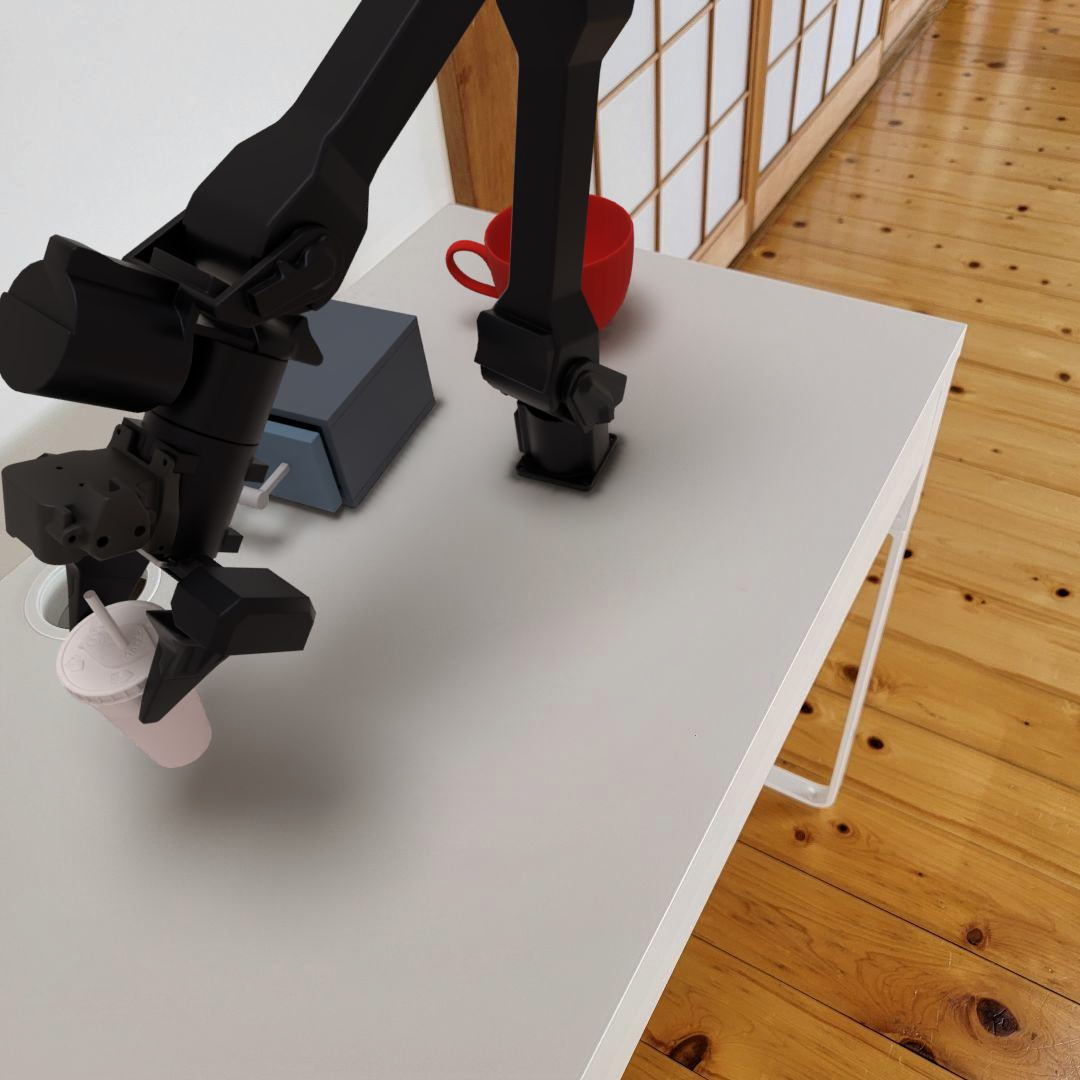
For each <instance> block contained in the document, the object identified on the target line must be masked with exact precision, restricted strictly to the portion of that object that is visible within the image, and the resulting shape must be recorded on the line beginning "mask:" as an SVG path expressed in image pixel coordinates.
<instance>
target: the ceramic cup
mask: <svg viewBox="0 0 1080 1080" xmlns="http://www.w3.org/2000/svg"><path fill="white" fill-rule="evenodd" d="M511 224H512V204H511V205H510V206H508V207H506V208H504V209H503V210H501V211H500V212H498V213H497V214H496V215H495V216H494V217H493V218H492V219H491V221H490V222H489V223H488V225H487V227H486V229H485V231H484V236H483V243H484V244H483V243H480V242H479V241H474V240H471V239H459V240H457V241H454V242H453V243H451V244H450V245H449V247H448V248H447V249H446V254H445V258H444V260H445V265H446V268H447V271H448V272H449V274H450V275H451V277H452V278H453V279H454V280H455V281H456V282H457V283H458V284H460V285H461V286H462V287H464V288H466V289H467V290H470V291H472V292H474V293H477V294H480V295H483V296H486V297H489V298H493V299H496V300H498V299H499V297H500V296H501V295H502V293H503V292H504V290H505V289H506V288H507V286H508V282H509V269H510V247H511ZM634 229H635V226H634V222H633V219H632V217H631V214H630V213H629V212H628V211H627V210H626V209H625V208H624V207H623V206H622V205H620V204H619V203H617V202H616V201H614V200H612V199H609V198H606V197H604V196H601V195H596V194H592V193H589V203H588V214H587V225H586V237H585V248H584V259H583V270H582V281H581V288H582V292H583V294H584V296H585V299H586V301H587V303H588V305H589V308H590V310H591V312H592V314H593V317H594V319H595V321H596V324H597V326H598V328H599V334H600V333H601V332H602V331H603V329H605V328H606V327H607V326H608V325H609V324H610V323H611V321H612V320H613V319H614V318H615V316H616V315H617V313H618V312H619V310H620V309H621V307H622V305H623V304H624V301H625V298H626V295H627V292H628V290H629V287H630V283H631V278H632V274H633V266H634V254H635V230H634ZM459 252H469V253H473V254H475V255H477V256H478V257H480V258H481V260H483V261H484V263H485V264H486V266H487V268H488V270H489V271H490V274H491V275H490V276H491V278H492V282H493V285H491V284H487V283H486V282H485V283H484V282H482V281H480V280H476V279H474V278H472V277H470V276H469V275H467V274H466V273H465V272H463V271H462V269H460V267H459V266H458V265H457V263H456V261H455V258H454V255H455V254H456V253H459Z"/></svg>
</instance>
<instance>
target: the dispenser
mask: <svg viewBox="0 0 1080 1080" xmlns="http://www.w3.org/2000/svg"><path fill="white" fill-rule="evenodd" d="M302 315H304V316H306V317H307V319H308V325H309V329H310V332H311V334H312V337H313V338H314V340H315V342H316V343H317V345H318V347H319V349H320V351H321V353H322V355H323V362H322V364H321V365H320V366H311V365H308V364H304V363H300V362H297V361H293V360H289V361H288V364H287V367H286V369H285V372H284V375H283V378H282V381H281V383H280V386H279V389H278V392H277V395H276V397H275V400H274V403H273V406H272V409H271V411H270V414H272V415H276V416H280V417H284V418H288V419H293V420H297V421H301V422H305V423H309V424H313V425H317V426H321V428H322V431H323V434H324V437H325V440H326V443H327V446H328V449H329V452H330V455H331V458H332V461H333V464H334V467H335V470H336V473H337V476H338V479H339V482H340V485H341V486H339V485H337V488H338V491H339V494H340V497H341V500H342V504H341V505H343V506H346V507H350V508H354V509H356V508H357V507H358V506H359V504H360V503H361V502H362V501H363V499H364V497H365V496H366V495H367V494H368V492H369V491H370V490H371V488H372V487H373V486H374V485H375V484H376V482H377V480H378V479H380V477H381V475H382V474H383V473H384V471H385V470H386V469H387V468H388V466H389V465H390V464H391V462H392V461H393V460H394V458H395V457H396V455H397V454H398V453H399V452H400V450H401V449H402V448H403V446H404V445H405V444H406V442H407V441H408V440H409V439H410V438H411V436H412V435H413V433H415V431H416V429H417V428H418V427H419V426H420V425H421V423H422V422H423V421H424V419H425V418H426V416H427V415H428V414H429V413H430V411H431V410H432V409H433V407H434V406H435V405H436V397H435V394H434V389H433V385H432V381H431V376H430V371H429V367H428V366H429V365H428V362H427V357H426V352H425V348H424V344H423V338H422V335H421V330H420V325H419V319H418V316H417V315H415V314H409V313H406V312H405V313H404V312H400V311H399V312H398V311H394V310H390V309H389V310H388V309H383V308H379V307H373V306H369V305H363V304H359V303H352V302H349V301H348V302H347V301H341V300H338V299H337V300H336V299H333V298H331V300H330V301H329V302H328V303H327V304H326V305H325V306H324V307H322V308H321V309H320V310H318V311H313V310H311V311H309V312H305V313H302Z"/></svg>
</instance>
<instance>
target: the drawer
mask: <svg viewBox="0 0 1080 1080" xmlns="http://www.w3.org/2000/svg"><path fill="white" fill-rule="evenodd" d="M254 457H256V458H257V459H259V460H261V461H262V462H264V463H265V464H267V465H269V468H268V471H267V474H266V477H265V479H264V482H263V483H256V482H248V481H246V482H245V484H244V487H243V490H242V493H241V496H240V498H239V501H238V504H239V505H241V506H245V507H249V508H252V509H255V510H259V511H262V510H263V511H264V510H265V509H266V508H267V507H268V505H269V501H270V496H272V497H273V496H274V497H277V498H281V499H284V500H288V501H291V502H295V503H297V504H298V503H299V504H303V505H306V506H310V507H313V508H317V509H320V510H324V511H326V512H327V511H328V512H331V513H336V512H337V511H338V509H339V508H340V507H341V505H342V500H341V497H340V494H339V491H338V488H337V485H339V486H341V485H340V482H339V479H338V476H337V473H336V470H335V467H334V464H333V461H332V458H331V455H330V452H329V449H328V446H327V443H326V440H325V437H324V434H323V431H322V428H321V426H317V425H313V424H309V423H305V422H301V421H297V420H293V419H288V418H284V417H280V416H276V415H272V414H269V417H268V420H267V423H266V425H265V428H264V431H263V434H262V437H261V439H260V442H259V445H258V448H257V451H256V454H255V456H254ZM238 504H237V505H238Z"/></svg>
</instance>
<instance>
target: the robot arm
mask: <svg viewBox="0 0 1080 1080" xmlns="http://www.w3.org/2000/svg"><path fill="white" fill-rule="evenodd" d="M486 1H487V0H360V2H359V4H358V5H357V6H356V8H355V9H354V11H353V13H352V14H351V15H350V17H349V18H348V20H347V22H346V23H345V25H344V26H343V27H342V29H341V30H340V32H339V34H338V36H337V37H336V38H335V40H334V41H333V43H332V45H331V46H330V47H329V49H328V51H327V52H326V54H325V56H324V57H323V58H322V60H321V62H320V63H319V64H318V65H317V67H316V69H315V71H314V72H313V73H312V75H311V76H310V78H309V80H308V81H307V83H306V85H305V86H304V87H303V89H302V90H301V92H300V93H299V95H298V96H297V98H296V99H295V101H294V103H293V104H292V105H291V106H290V107H289V108H288V109H287V110H286V111H285V112H284V113H283V115H282V116H280V118H279V119H278V120H277V121H275V122H274V123H271V124H270V125H267V127H265V128H263V129H261V130H259V131H258V132H256V133H254V134H253V135H250V136H248V137H247V138H245V139H244V140H242V141H240V142H238V143H236V145H235V146H234V147H232V149H231V150H230V151H229V152H228V154H226V155H225V156H224V157H223V158H222V160H221V161H220V162H219V163H218V164H217V165H216V167H214V168H213V169H212V170H211V172H209V173H208V175H207V176H206V177H205V178H204V179H203V180H202V182H200V184H199V185H198V186H197V187H196V188H195V190H194V191H193V192H192V194H191V196H190V198H189V201H188V202H187V204H186V207H185V208H184V209H183V210H182V211H180V212H179V213H178V214H177V215H176V216H174V217H173V218H171V219H170V220H168V221H167V222H166V223H165V224H163V225H162V226H161V227H160V228H158V229H157V230H156V231H154V232H153V233H152V234H151V235H149V236H147V238H146V239H144V240H142V241H141V242H140V243H139V244H137V245H136V246H135V247H134V248H132V249H131V250H130V251H129V252H127V253H126V254H125V255H123V256H122V257H121V259H120V258H116V257H113V256H110V255H106V254H104V253H101V252H100V251H98V250H95V249H94V248H92V247H90V246H88V245H86V244H84V243H82V242H80V241H78V240H75V239H72V238H69V237H66V236H63V235H60V234H57V233H56V234H55V233H54V234H53V235H51V236H50V237H49V239H48V242H47V245H46V248H45V251H44V254H43V258H42V259H39V260H37V261H34V262H31V263H29V264H28V265H27V266H26V267H24V268H23V269H22V270H21V271H20V272H19V273H18V274H17V276H16V277H15V278H14V279H13V281H12V283H11V285H10V286H9V289H8V290H7V291H2V293H1V294H0V377H1V379H2V380H3V381H4V382H5V384H6V385H7V386H8V388H10V389H11V390H13V391H14V392H17V393H21V394H26V395H30V396H35V397H36V396H37V397H43V398H48V399H54V400H59V401H60V400H61V401H66V402H71V403H77V404H82V405H88V406H95V407H98V408H99V407H100V408H105V409H112V410H115V411H116V410H117V411H122V412H128V413H133V414H134V413H135V414H142V413H144V414H143V417H142V419H138V418H133V417H127V416H123V417H122V420H121V423H118V424H117V425H115V427H114V429H113V432H112V435H111V438H110V440H109V442H108V444H107V446H106V447H104V448H97V449H96V448H95V449H78V450H76V449H75V450H72V451H67V452H62V453H51V452H43V453H41V454H40V455H39V456H37V457H36V458H33V459H28V460H23V461H18V462H15V463H11V464H7V465H6V466H4V467H3V468H2V470H1V471H0V473H1V474H0V475H1V489H2V498H3V499H2V500H3V512H4V524H5V532H6V534H8V535H9V536H10V537H11V538H13V539H15V538H16V539H18V541H20V542H21V543H22V544H23V545H25V547H26V548H28V549H29V550H30V551H32V554H33V556H34V557H35V558H36V559H37V560H38V561H40V562H41V563H43V564H46V565H49V566H65V575H66V584H67V585H66V586H67V599H68V601H67V605H68V631H69V632H68V634H69V633H70V632H71V631H72V629H73V628H74V627H75V626H76V625H77V624H78V623H80V622H81V621H82V620H83V619H85V618H86V617H87V616H89V615H91V614H92V613H94V611H93V610H92V608H91V607H90V605H89V604H88V603H87V601H86V600H85V598H84V594H85V593H86V592H87V591H90V590H92V591H94V592H95V593H96V595H97V596H98V598H99V599H100V601H101V602H102V604H103V605H104V607H106V606H108V605H112V604H115V603H118V602H123V601H129V600H130V598H131V596H132V594H133V592H134V590H135V589H136V587H137V585H138V584H139V582H140V580H141V578H142V577H143V575H144V573H145V571H146V570H147V568H148V566H149V564H150V563H152V564H153V565H155V566H156V567H157V568H159V569H161V570H162V571H163V572H164V573H165V574H166V575H168V576H169V577H170V578H172V579H173V580H175V581H176V582H177V583H176V586H175V589H174V591H173V595H172V597H171V599H170V608H171V609H165V610H146V615H147V617H148V619H149V620H150V622H151V624H152V626H153V627H154V629H155V631H156V632H157V634H158V643H157V646H156V650H155V653H154V657H153V660H152V664H151V667H150V671H149V674H148V678H147V681H146V685H145V688H144V692H143V696H142V700H141V706H140V712H139V721H140V722H141V723H143V724H150V723H156V722H158V721H160V720H161V719H162V718H163V717H164V716H165V715H166V714H167V713H168V712H169V711H170V710H171V709H172V708H174V707H175V706H176V705H177V704H178V703H179V702H180V701H181V700H182V699H183V698H184V697H185V696H186V695H187V694H188V693H189V692H190V691H191V690H192V689H193V688H194V687H197V686H198V685H199V684H200V683H201V682H202V681H203V680H204V679H205V678H206V677H207V676H208V675H210V673H211V672H213V670H215V669H216V668H217V667H218V666H220V665H221V664H222V662H224V661H225V660H227V659H228V658H230V657H231V656H247V655H258V654H261V655H262V654H274V653H289V652H301V651H304V649H305V647H306V644H307V642H308V639H309V637H310V635H311V632H312V630H313V627H314V624H315V620H316V616H317V612H316V609H315V607H314V605H313V602H312V600H311V597H310V596H308V595H307V594H306V593H305V592H303V591H301V590H300V589H298V588H297V587H296V586H294V585H292V584H291V583H290V582H288V581H287V580H285V579H284V578H282V577H281V576H280V575H278V574H277V573H276V572H274V571H273V570H271V569H270V568H268V567H240V566H237V567H236V566H223V565H222V564H220V563H219V562H218V561H216V558H217V557H218V554H219V553H226V554H238V553H240V552H239V551H240V549H241V546H242V544H243V540H244V538H245V536H244V535H243V534H241V532H239V531H238V530H236V529H234V528H233V527H232V526H231V523H232V520H233V518H234V515H235V513H236V509H237V506H238V501H239V498H240V496H241V493H242V490H243V487H244V484H245V482H246V481H248V482H256V483H263V482H264V479H265V477H266V474H267V471H268V468H269V465H267V464H265V463H264V462H262V461H261V460H259V459H257V458H256V457H254V456H255V454H256V451H257V448H258V445H259V442H260V439H261V437H262V434H263V431H264V428H265V425H266V423H267V420H268V417H269V414H270V411H271V409H272V406H273V403H274V400H275V397H276V395H277V392H278V389H279V386H280V383H281V381H282V378H283V375H284V372H285V369H286V367H287V364H288V361H289V360H293V361H297V362H300V363H304V364H308V365H311V366H320V365H321V364H322V362H323V355H322V353H321V351H320V349H319V347H318V345H317V343H316V342H315V340H314V338H313V337H312V334H311V332H310V329H309V325H308V319H307V317H306V316H304V315H302V313H305V312H309V311H311V310H313V311H318V310H320V309H321V308H322V307H324V306H325V305H326V304H327V303H328V302H329V301H330V300H331V299H333V297H334V296H335V295H336V293H337V292H338V291H339V289H340V288H341V286H342V284H343V283H344V280H345V278H346V276H347V274H348V272H349V269H350V267H351V265H352V263H353V261H354V259H355V257H356V255H357V253H358V251H359V249H360V246H361V244H362V242H363V240H364V237H365V235H366V233H367V231H368V227H369V208H370V207H369V204H370V186H371V185H372V182H373V180H374V178H375V176H376V174H377V172H378V169H379V167H380V165H381V164H382V162H383V161H384V159H385V158H386V156H387V154H388V153H389V151H390V150H391V148H392V147H393V145H394V144H395V142H396V141H397V139H398V138H399V137H400V135H401V133H402V131H403V130H404V128H405V127H406V126H407V123H408V122H409V120H410V119H411V118H412V116H413V114H414V112H415V111H416V110H417V108H418V106H419V105H420V104H421V102H422V100H423V99H424V97H425V96H426V94H427V93H428V91H429V90H430V88H431V87H432V85H433V83H434V82H435V81H436V78H437V77H438V76H439V74H440V72H441V71H442V69H443V68H444V66H445V65H446V63H447V62H448V60H449V58H450V57H451V55H452V54H453V52H454V51H455V49H456V47H457V46H458V44H459V43H460V41H461V40H462V38H463V37H464V36H465V34H466V32H467V30H468V29H469V27H470V26H471V24H472V23H473V21H474V20H475V18H476V17H477V15H478V13H479V12H480V10H481V9H482V8H483V6H484V4H485V2H486ZM635 2H636V0H495V4H496V7H497V8H498V9H497V10H498V11H499V14H500V16H501V18H502V21H503V23H504V26H505V29H506V30H507V32H508V36H509V37H510V39H511V42H512V44H513V47H514V49H515V51H516V54H517V60H518V67H517V69H518V70H517V88H516V89H517V90H516V91H517V92H516V110H515V111H516V112H515V113H516V115H515V135H514V159H513V162H514V163H513V180H512V181H513V182H512V184H513V185H512V203H511V205H512V224H511V247H510V269H509V282H508V286H507V288H506V289H505V290H504V292H503V293H502V295H501V296H500V297H499V299H496V301H495V303H494V304H493V306H492V307H491V308H490V309H484V310H483V309H482V310H481V311H480V312H479V313H478V316H477V318H476V320H475V321H476V330H477V344H476V345H477V346H476V352H475V354H474V358H473V362H474V363H475V364H478V365H479V367H480V376H481V378H482V379H483V380H484V381H486V383H487V384H488V385H489V386H491V387H492V388H493V389H496V390H497V391H499V392H500V393H501V394H502V395H504V396H510V397H511V398H513V399H515V400H516V407H517V408H516V410H514V412H513V419H514V428H515V435H516V440H517V447H518V451H519V453H521V454H522V455H521V458H520V459H519V461H518V462H517V464H516V465H515V472H516V474H517V475H520V476H523V477H528V478H532V479H536V480H541V481H544V482H548V483H551V484H557V485H560V486H564V487H569V488H573V489H577V490H581V491H590V490H591V489H592V488H593V485H594V484H595V482H596V480H597V479H598V477H599V476H600V474H601V472H602V470H603V469H604V467H605V465H606V463H607V461H608V460H609V457H610V456H611V454H612V452H613V451H614V449H615V447H616V445H617V444H618V436H617V434H615V433H612V432H609V431H610V430H609V429H610V428H609V424H610V423H611V422H612V421H613V420H615V411H616V408H617V407H618V406H619V405H620V404H621V403H622V402H623V400H624V396H625V392H626V386H627V382H628V375H626V374H624V373H622V372H620V371H617V370H615V369H612V368H611V367H608V366H606V365H603V364H602V363H600V361H601V360H600V359H601V357H600V333H599V328H598V326H597V324H596V321H595V319H594V317H593V314H592V312H591V310H590V308H589V305H588V303H587V301H586V299H585V296H584V294H583V292H582V288H581V281H582V270H583V259H584V248H585V237H586V225H587V214H588V203H589V194H590V191H591V181H592V170H593V159H594V158H593V157H594V146H595V136H596V135H595V134H596V124H597V114H598V113H597V112H598V103H599V102H598V101H599V91H600V80H601V79H600V78H601V71H602V63H603V61H604V58H605V57H606V55H608V52H609V51H610V49H611V48H612V46H613V45H614V43H615V42H616V40H617V39H618V37H619V36H620V34H621V33H622V32H623V29H624V28H625V26H627V24H628V22H629V21H630V19H631V18H632V15H633V12H634V7H635Z"/></svg>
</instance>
